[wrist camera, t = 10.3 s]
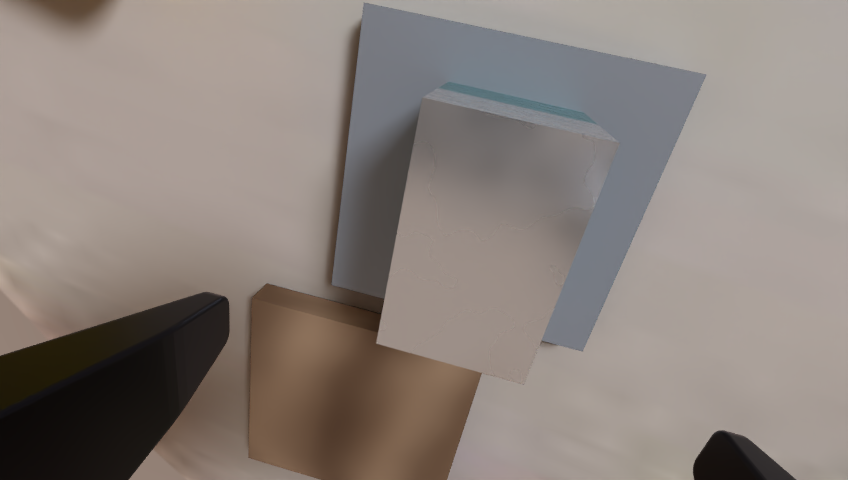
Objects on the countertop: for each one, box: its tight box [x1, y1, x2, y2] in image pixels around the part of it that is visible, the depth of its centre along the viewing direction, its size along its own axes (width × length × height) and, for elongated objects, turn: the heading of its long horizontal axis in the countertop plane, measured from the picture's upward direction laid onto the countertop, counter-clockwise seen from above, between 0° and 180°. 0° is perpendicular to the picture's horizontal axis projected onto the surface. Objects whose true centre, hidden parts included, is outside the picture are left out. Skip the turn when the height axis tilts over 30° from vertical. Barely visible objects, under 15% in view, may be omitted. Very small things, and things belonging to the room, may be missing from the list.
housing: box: [376, 82, 620, 385], centre depth 15 cm, size 8×5×6 cm, turn 169°
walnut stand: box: [249, 284, 482, 480], centre depth 25 cm, size 12×12×2 cm
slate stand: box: [331, 3, 706, 351], centre depth 18 cm, size 12×12×2 cm
